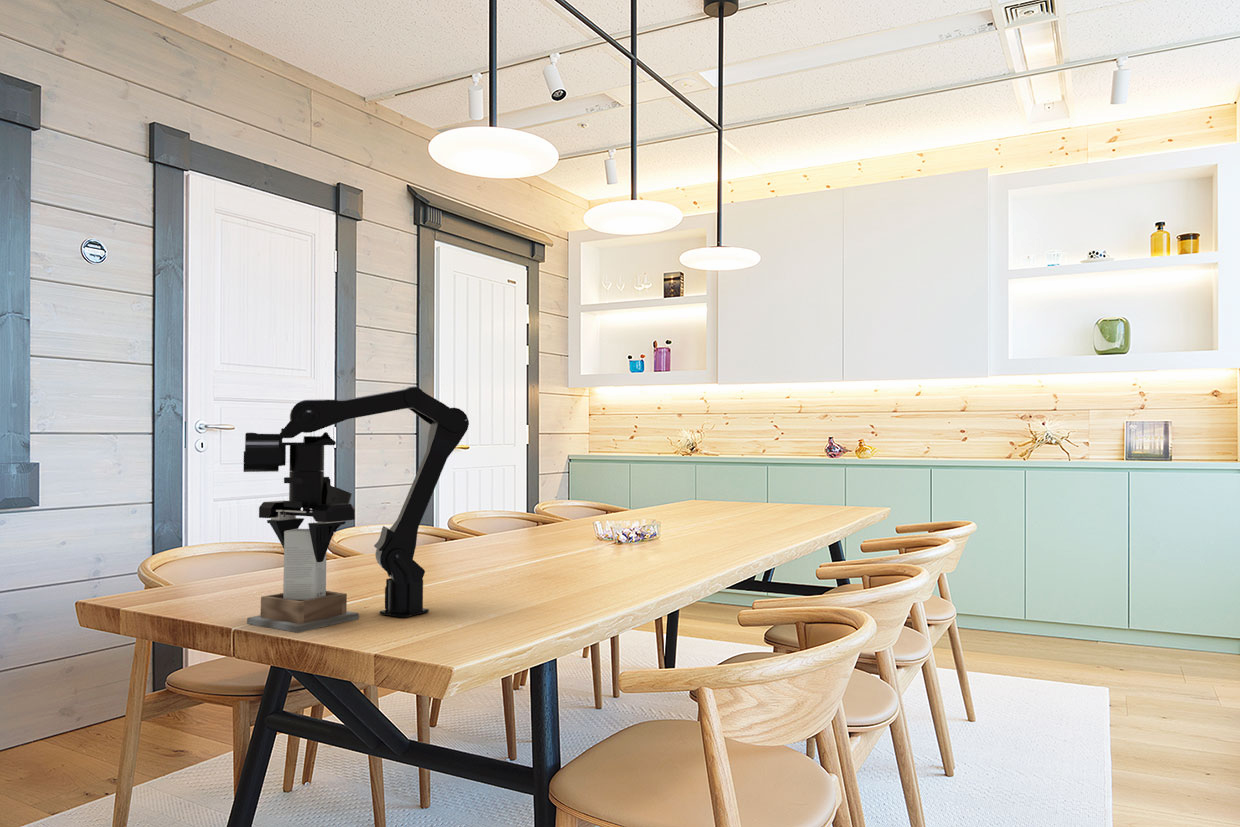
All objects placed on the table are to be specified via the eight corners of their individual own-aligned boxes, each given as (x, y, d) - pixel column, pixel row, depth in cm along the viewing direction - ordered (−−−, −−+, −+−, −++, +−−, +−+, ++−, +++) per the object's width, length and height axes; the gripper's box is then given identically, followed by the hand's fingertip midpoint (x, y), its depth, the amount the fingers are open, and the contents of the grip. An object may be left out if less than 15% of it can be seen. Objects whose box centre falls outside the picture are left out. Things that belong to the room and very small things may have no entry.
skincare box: (326, 596, 147) (328, 528, 148) (315, 601, 143) (316, 531, 143) (294, 595, 148) (295, 528, 148) (281, 600, 144) (283, 530, 144)
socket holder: (358, 618, 148) (359, 593, 148) (297, 632, 136) (297, 604, 137) (309, 611, 154) (310, 586, 154) (247, 623, 143) (247, 597, 143)
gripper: (379, 470, 148) (378, 558, 148) (309, 469, 158) (308, 552, 157) (328, 472, 139) (327, 566, 138) (257, 471, 148) (256, 559, 148)
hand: (305, 560), depth 146 cm, fingers closed on skincare box, 7 cm apart
